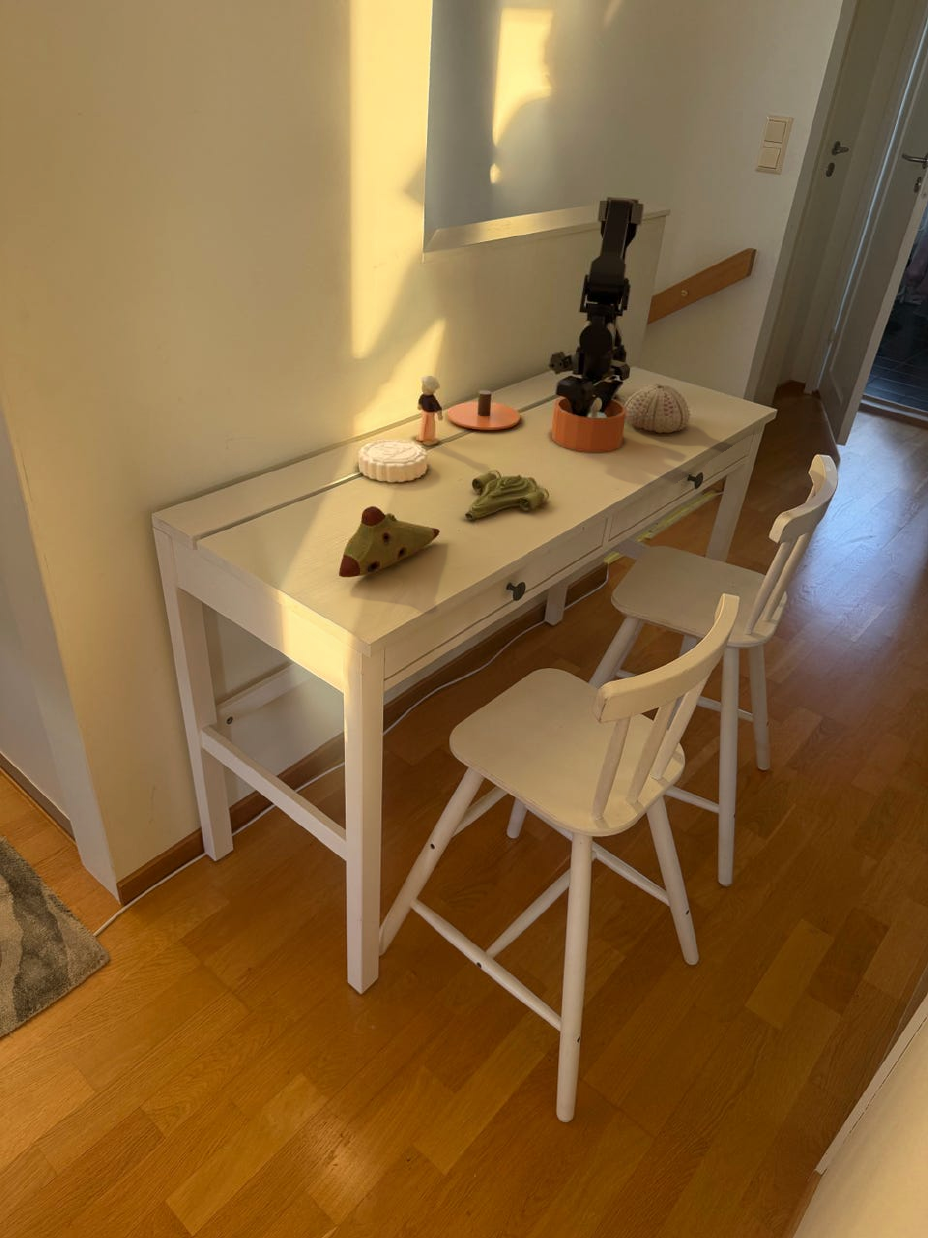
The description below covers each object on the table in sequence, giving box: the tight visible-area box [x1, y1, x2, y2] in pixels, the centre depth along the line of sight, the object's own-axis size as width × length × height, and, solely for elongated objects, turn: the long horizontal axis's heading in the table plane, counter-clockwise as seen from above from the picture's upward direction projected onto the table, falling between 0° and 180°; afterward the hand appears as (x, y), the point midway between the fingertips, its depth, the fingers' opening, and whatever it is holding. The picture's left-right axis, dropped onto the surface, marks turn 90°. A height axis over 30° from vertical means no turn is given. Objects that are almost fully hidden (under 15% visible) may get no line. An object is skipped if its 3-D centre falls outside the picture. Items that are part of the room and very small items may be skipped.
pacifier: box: [587, 398, 607, 418], centre depth 170 cm, size 7×6×6 cm
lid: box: [447, 389, 521, 431], centre depth 178 cm, size 15×15×6 cm
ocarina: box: [338, 505, 441, 578], centre depth 127 cm, size 20×5×10 cm, turn 139°
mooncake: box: [358, 439, 428, 483], centre depth 156 cm, size 12×12×4 cm
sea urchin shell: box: [623, 383, 691, 434], centre depth 179 cm, size 13×14×8 cm
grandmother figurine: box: [415, 374, 444, 446], centre depth 165 cm, size 8×4×13 cm, turn 47°
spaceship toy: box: [464, 469, 550, 521], centre depth 147 cm, size 12×18×4 cm
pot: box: [550, 395, 627, 453], centre depth 172 cm, size 14×14×6 cm
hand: (588, 422), depth 172 cm, fingers closed on pacifier, 7 cm apart
